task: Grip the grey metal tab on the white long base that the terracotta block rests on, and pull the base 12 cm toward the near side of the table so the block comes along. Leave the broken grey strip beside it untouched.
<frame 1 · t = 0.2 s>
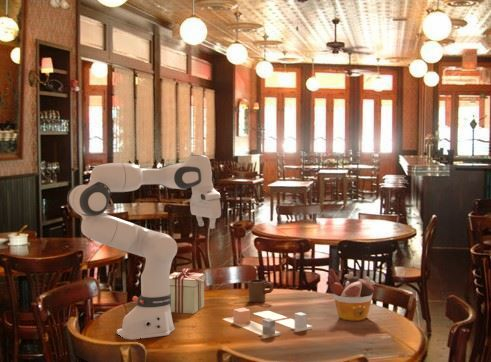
hand: (206, 227, 274), 39 cm above the table, tool pointing down, fingers open, 8 cm apart
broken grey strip: (281, 322, 272), on the table
mug: (261, 301, 309), on the table
gift box: (187, 309, 297), on the table
white long base: (250, 320, 263), point 3 cm above the table, slide at 0.0 cm, touching terracotta block
terracotta block: (242, 322, 268), point 1 cm above the table, touching white long base
bucket of meat: (351, 318, 277), on the table
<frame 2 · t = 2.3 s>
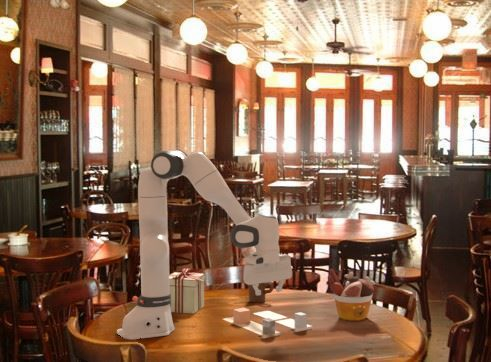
hand: (268, 293, 252), 16 cm above the table, tool pointing down, fingers open, 8 cm apart
nothing on the table moved.
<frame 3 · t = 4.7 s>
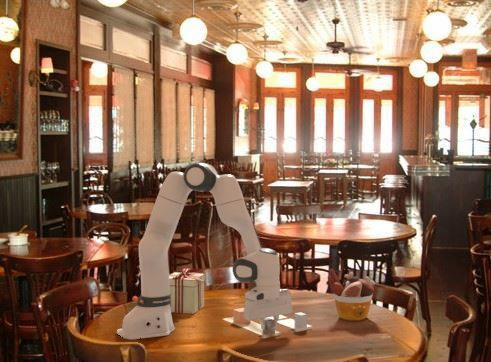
hand: (268, 328, 252), 3 cm above the table, tool pointing down, fingers closed on white long base, 3 cm apart
white long base: (250, 320, 263), point 3 cm above the table, slide at 0.0 cm, touching gripper, terracotta block
everything else where it was.
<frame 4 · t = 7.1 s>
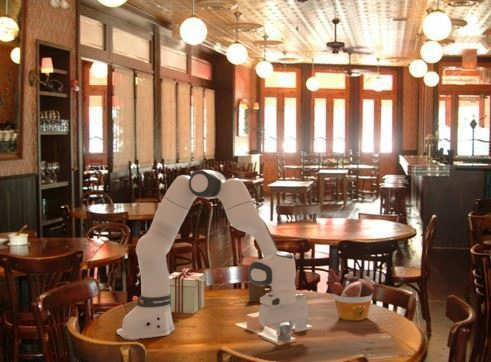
hand: (284, 334, 244), 3 cm above the table, tool pointing down, fingers closed on white long base, 3 cm apart
white long base: (264, 325, 255), point 3 cm above the table, slide at 9.9 cm, touching gripper, terracotta block
terracotta block: (255, 327, 260), point 1 cm above the table, touching white long base
everything else where it was.
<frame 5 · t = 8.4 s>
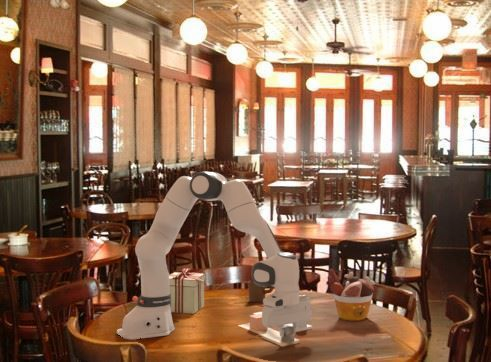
hand: (287, 335, 242), 3 cm above the table, tool pointing down, fingers closed on white long base, 3 cm apart
white long base: (267, 327, 253), point 3 cm above the table, slide at 12.0 cm, touching gripper, terracotta block
terracotta block: (258, 328, 258), point 1 cm above the table, touching white long base
everything else where it was.
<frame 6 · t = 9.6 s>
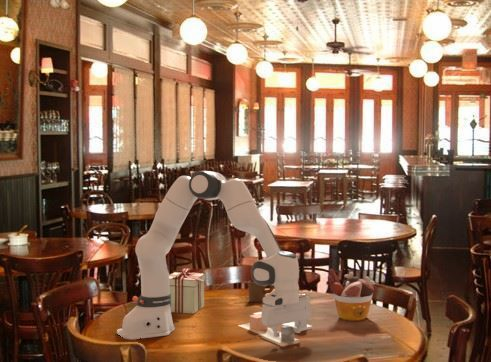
hand: (287, 334, 242), 4 cm above the table, tool pointing down, fingers open, 8 cm apart
white long base: (267, 327, 253), point 3 cm above the table, slide at 12.0 cm, touching terracotta block
everything else where it was.
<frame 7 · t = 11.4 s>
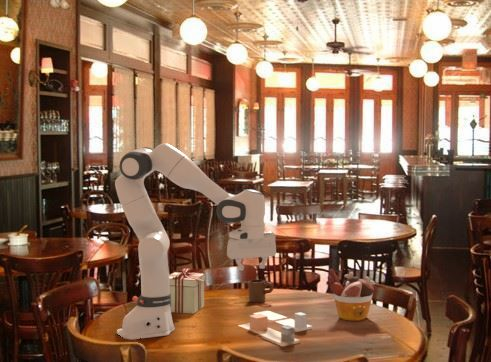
hand: (251, 269, 253), 25 cm above the table, tool pointing down, fingers open, 8 cm apart
nothing on the table moved.
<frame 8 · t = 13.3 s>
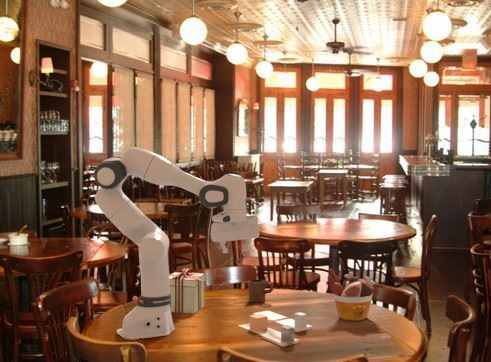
hand: (235, 251, 259), 31 cm above the table, tool pointing down, fingers open, 8 cm apart
nothing on the table moved.
at the end: white long base slide at 12.0 cm; terracotta block inside the target area (0.5 cm from its centre), point 1.3 cm above the table; terracotta block tilted 0° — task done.
